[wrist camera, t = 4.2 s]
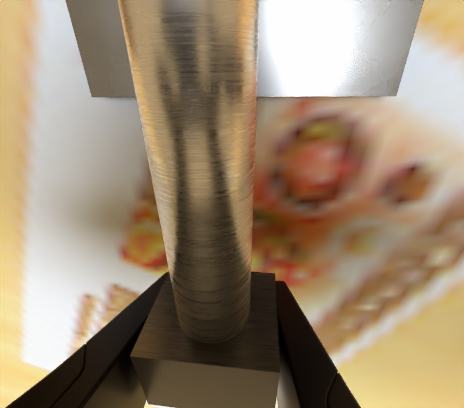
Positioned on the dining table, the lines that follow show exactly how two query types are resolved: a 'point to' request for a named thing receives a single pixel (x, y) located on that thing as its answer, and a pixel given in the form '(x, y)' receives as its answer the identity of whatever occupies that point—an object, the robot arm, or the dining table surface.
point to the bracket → (278, 46)
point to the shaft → (203, 204)
